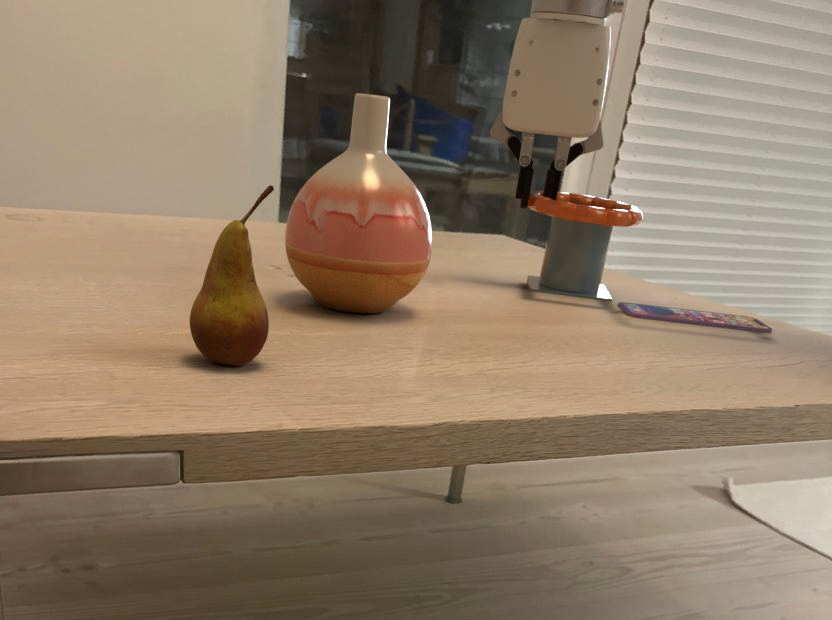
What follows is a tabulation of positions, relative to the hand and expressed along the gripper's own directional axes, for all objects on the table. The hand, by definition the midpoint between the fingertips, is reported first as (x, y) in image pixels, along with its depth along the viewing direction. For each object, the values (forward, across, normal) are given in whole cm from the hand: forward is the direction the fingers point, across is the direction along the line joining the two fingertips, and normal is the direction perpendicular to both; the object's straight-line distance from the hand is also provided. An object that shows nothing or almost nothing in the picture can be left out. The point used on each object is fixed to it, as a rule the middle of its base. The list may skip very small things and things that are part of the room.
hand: (533, 207), depth 101 cm
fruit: (+9, +23, +46) cm, 52 cm away
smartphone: (+9, -18, +8) cm, 22 cm away
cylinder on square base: (+9, -5, 0) cm, 10 cm away
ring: (0, -5, 0) cm, 5 cm away
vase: (+9, +17, +21) cm, 28 cm away
